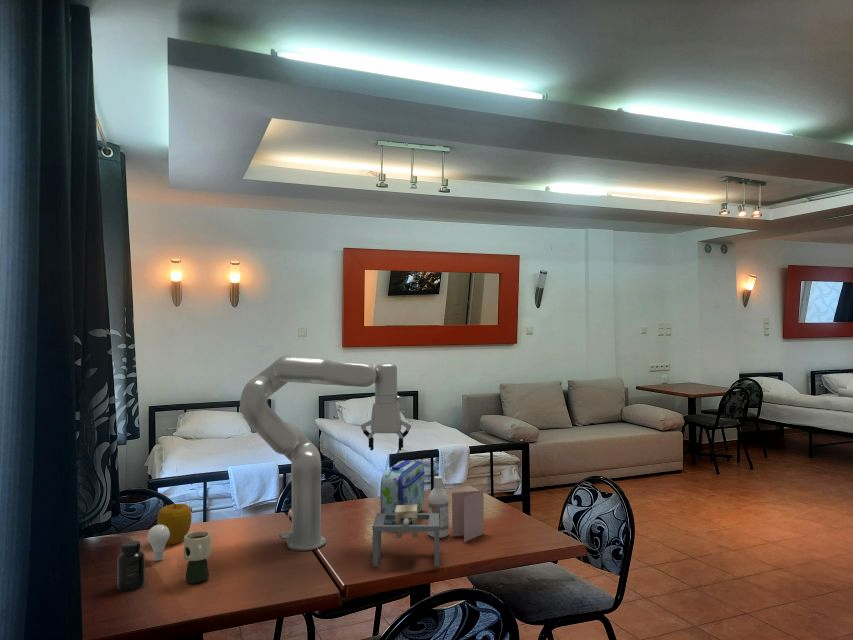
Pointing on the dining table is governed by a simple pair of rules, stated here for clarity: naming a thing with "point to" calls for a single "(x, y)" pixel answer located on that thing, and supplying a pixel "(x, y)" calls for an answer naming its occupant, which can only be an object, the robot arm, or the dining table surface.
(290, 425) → the robot arm
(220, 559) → the dining table surface
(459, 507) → the greeting card
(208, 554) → the character mug
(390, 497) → the lunch box
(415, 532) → the birch clip
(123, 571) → the supplement bottle
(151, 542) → the lightbulb
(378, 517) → the shelf stand
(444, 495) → the bath foam
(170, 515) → the apple
